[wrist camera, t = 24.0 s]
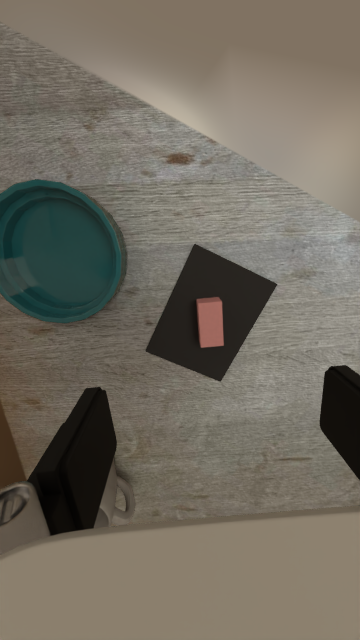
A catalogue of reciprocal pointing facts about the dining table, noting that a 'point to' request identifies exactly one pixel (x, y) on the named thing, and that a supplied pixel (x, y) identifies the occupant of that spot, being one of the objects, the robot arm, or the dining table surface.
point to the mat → (237, 308)
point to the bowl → (58, 252)
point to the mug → (107, 506)
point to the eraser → (210, 322)
